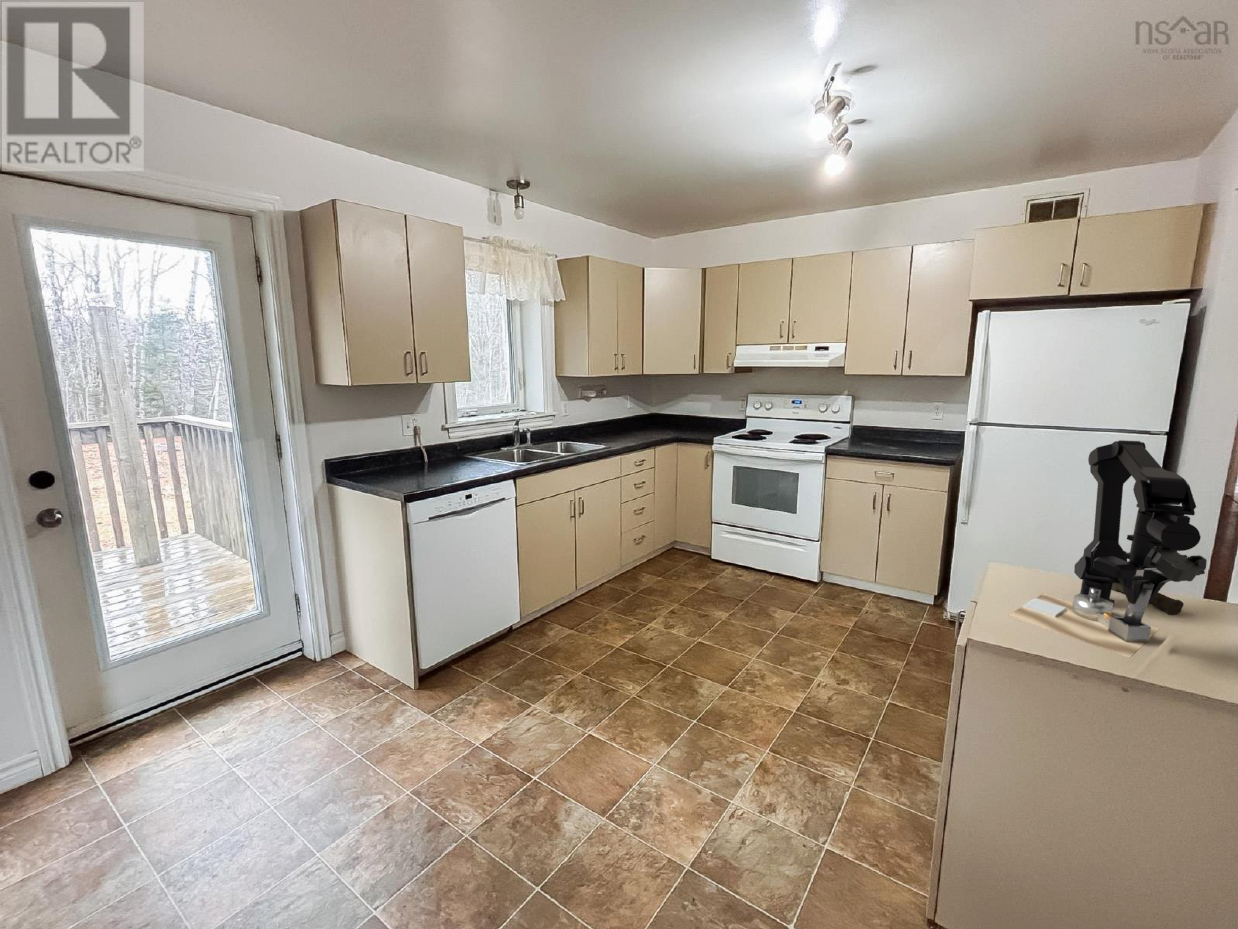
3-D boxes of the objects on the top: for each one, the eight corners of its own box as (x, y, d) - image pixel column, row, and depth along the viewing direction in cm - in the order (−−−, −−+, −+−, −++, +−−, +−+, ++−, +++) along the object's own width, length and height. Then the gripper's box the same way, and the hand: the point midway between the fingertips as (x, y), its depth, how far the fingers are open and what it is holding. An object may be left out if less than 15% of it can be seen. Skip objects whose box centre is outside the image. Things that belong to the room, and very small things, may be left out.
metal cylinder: (1131, 625, 116) (1146, 583, 114) (1119, 619, 119) (1133, 577, 117) (1143, 626, 117) (1158, 584, 114) (1130, 619, 119) (1145, 578, 117)
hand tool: (1183, 615, 131) (1187, 597, 130) (1168, 616, 130) (1171, 598, 129) (1107, 582, 149) (1110, 567, 148) (1094, 583, 149) (1097, 567, 148)
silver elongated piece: (1064, 607, 132) (1068, 582, 131) (1094, 607, 132) (1098, 582, 130) (1120, 641, 117) (1125, 614, 115) (1153, 642, 116) (1159, 614, 115)
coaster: (1034, 600, 136) (1034, 597, 136) (1065, 609, 131) (1066, 607, 131) (1023, 607, 133) (1023, 604, 133) (1055, 617, 128) (1055, 615, 127)
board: (1041, 599, 140) (1042, 593, 140) (1157, 635, 122) (1159, 628, 122) (1007, 621, 129) (1007, 615, 129) (1128, 664, 111) (1129, 657, 111)
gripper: (1149, 550, 105) (1134, 623, 109) (1239, 546, 106) (1222, 619, 109) (1096, 531, 116) (1084, 598, 119) (1178, 528, 117) (1164, 594, 120)
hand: (1138, 602), depth 117 cm, fingers closed on metal cylinder, 3 cm apart
